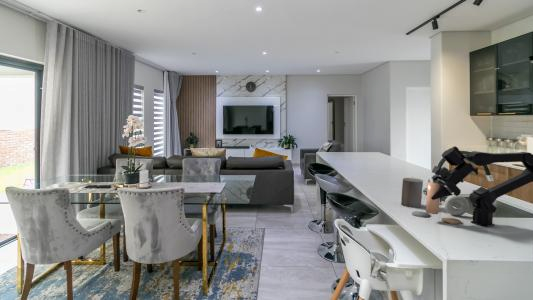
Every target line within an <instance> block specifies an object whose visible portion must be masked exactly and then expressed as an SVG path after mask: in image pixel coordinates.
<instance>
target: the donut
mask: <svg viewBox="0 0 533 300" xmlns="http://www.w3.org/2000/svg"><path fill="white" fill-rule="evenodd" d="M454 203H459V205H460V206H459V207H458V208H457V207H454V206H453V204H454ZM443 205H444V209H445V211H446V212H447V213H448V214H450V215H452V216H456V217H458V216H462V215H465V214H466V213H467V212H468V211H469V207H470V206H469V201H468V200H467V198H466V197H465V196H463V195H461V194H459V195H458V196H455V195H454V194H452V196H451V195H450V196H446V199H445V200H444V203H443Z"/></svg>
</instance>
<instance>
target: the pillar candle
mask: <svg viewBox="0 0 533 300" xmlns="http://www.w3.org/2000/svg"><path fill="white" fill-rule="evenodd" d="M423 184H424V180H423V179H421V178H415V177H413V176H412V177H403V178H402V184H401V185H402V187H401V201H400V202H401V203H400V204H401V206H403V207H407V208H412V209H415V208H416V209H417V208H421V207H422V201H423V200H422V197H423V186H424V185H423Z"/></svg>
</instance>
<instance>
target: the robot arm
mask: <svg viewBox="0 0 533 300" xmlns="http://www.w3.org/2000/svg"><path fill="white" fill-rule="evenodd" d="M441 157H442V159H444V160H445V162H447V163H448V164H449V166H451V167H452V166H454V168H452V169H449V168H447V167H445V166H442V167H439V166H437V165H434V167H433V169H432V170H431V173H433V174H434V175H432V176H431V179H432V182H435V183H440V189H439V190H438V191H437V192H436V193H435V194H434V195H433V196H432V197H431V199H432V200H435V199H438V198H440V199H441V198H445V197H446V198H447V197H449V196H452V195H455V196H458V195H461V193H462V191H461V189H460V188H459V187H458V184H459V183H464V181H465V180H464V179H466V178H467V177H468V176H469V175H471V173H472V174H474V175H478V174H479V168H478V167H483V166H489V165H493V164H495V163H522V165H523V166H524V167H525V169H523V171H522V172H521V173H520V174H518V175H515V176H512V177H511V178H510V179H507V180H505V181H502V182H500V183H499V184H496V185H494V186H492V187H490V188H486V187H484V186H481V187H478V188H477V189H475V190H472V192H471V193H470V194H469V196H468V200H469V202H470V203H471V204H472V207H473V211H472V220H470V223H472V224H475V225H478V226H481V227H492V226H493V227H494V226H495V223H493V222H494V221H493V219H494V214H495V212H497V207H496V206H495V204H494V203H495V202H496V200H497V199H498V198H500V197H503V196H504V195H507V194H509V193H511V192H514V191H515V190H517V189H519V188H521V187H524V186H526V185H529V184H530V183H533V153H532V152H528V151H521V152H520V151H519V152H491V153H490V152H484V151H477V150H473V151H470V152H469V153H464V154H463V153H462V151H460V149H459V148H458V147H457V146H456V145H454V146H452V147H451V148H449V149H446V150H445V151H444V152H442V154H441ZM473 165H474V166H473ZM475 166H478V167H475Z"/></svg>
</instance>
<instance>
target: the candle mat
mask: <svg viewBox="0 0 533 300" xmlns="http://www.w3.org/2000/svg"><path fill="white" fill-rule="evenodd" d="M411 215H412V216H415V217H419V218H429V217H430V216H431V214H429V213H427V212H426V211H419V210H417V211H412V212H411Z"/></svg>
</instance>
